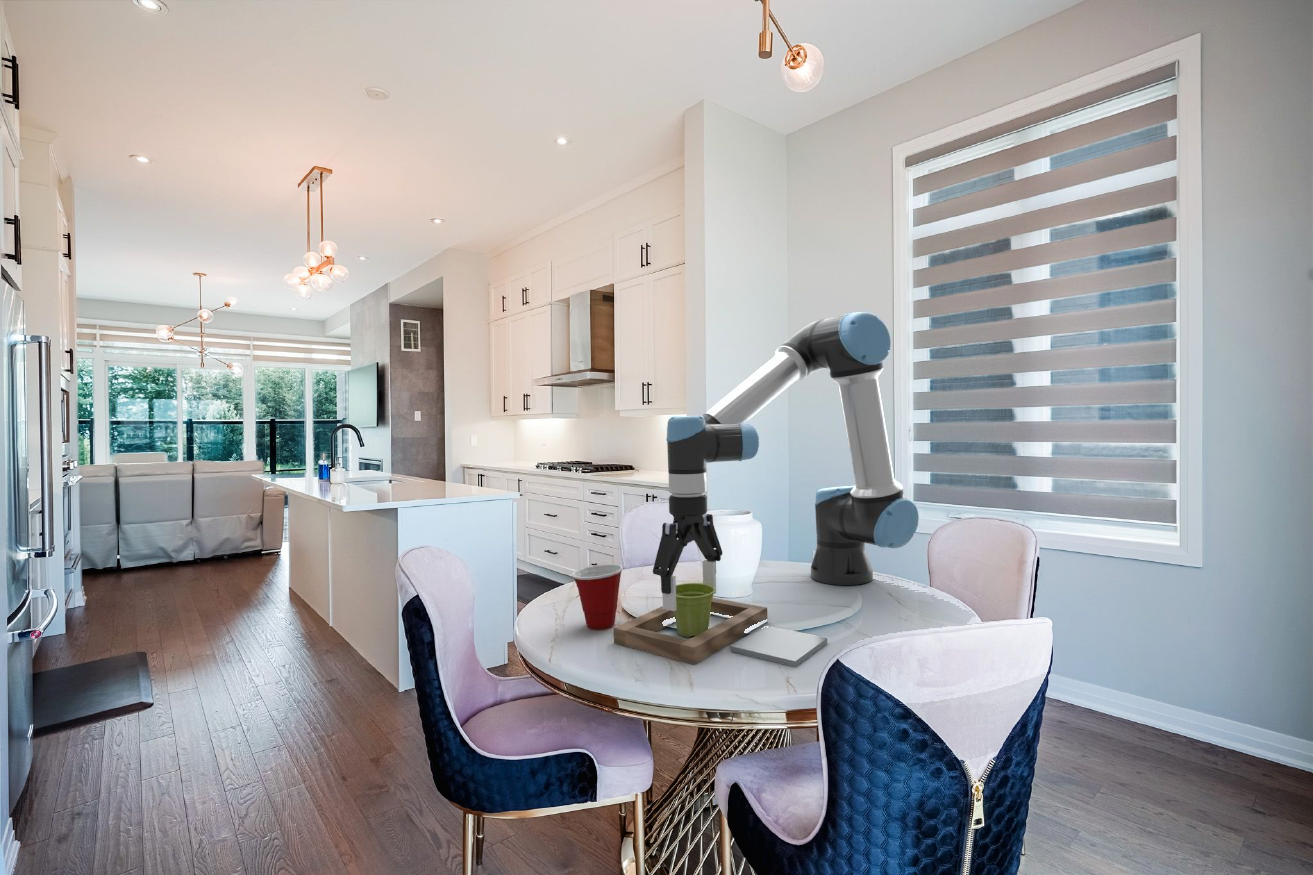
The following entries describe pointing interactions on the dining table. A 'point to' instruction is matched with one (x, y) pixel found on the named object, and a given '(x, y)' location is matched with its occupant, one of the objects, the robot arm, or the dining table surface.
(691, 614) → the plant pot
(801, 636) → the slate coaster
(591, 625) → the plastic cup
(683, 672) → the dining table surface
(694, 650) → the open rectangular wooden frame
